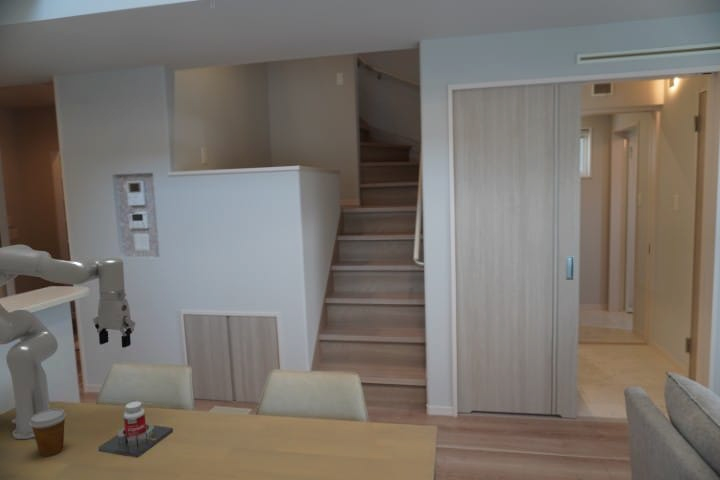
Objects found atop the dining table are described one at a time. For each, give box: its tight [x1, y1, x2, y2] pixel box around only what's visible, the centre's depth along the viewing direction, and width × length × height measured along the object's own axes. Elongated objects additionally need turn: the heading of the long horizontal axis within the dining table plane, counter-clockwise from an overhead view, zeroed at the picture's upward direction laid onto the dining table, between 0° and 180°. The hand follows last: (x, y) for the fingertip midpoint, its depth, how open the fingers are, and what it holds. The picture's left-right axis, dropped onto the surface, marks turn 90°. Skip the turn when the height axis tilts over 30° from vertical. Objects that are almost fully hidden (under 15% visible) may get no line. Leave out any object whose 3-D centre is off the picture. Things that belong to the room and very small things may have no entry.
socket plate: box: [98, 422, 174, 458], centre depth 155 cm, size 15×16×4 cm
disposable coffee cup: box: [30, 408, 67, 458], centre depth 150 cm, size 10×10×12 cm
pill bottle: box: [123, 401, 147, 441], centre depth 155 cm, size 6×6×11 cm
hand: (115, 344), depth 163 cm, fingers open, 9 cm apart
